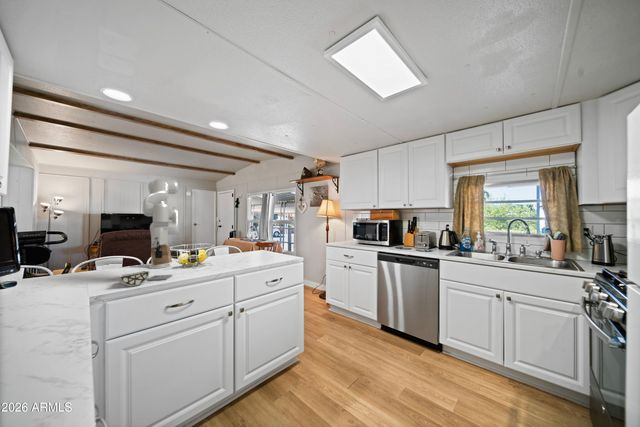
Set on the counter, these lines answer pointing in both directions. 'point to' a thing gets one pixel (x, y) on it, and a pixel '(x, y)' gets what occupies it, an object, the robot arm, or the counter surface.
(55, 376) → the counter surface
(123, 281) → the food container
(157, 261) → the tan cardboard box
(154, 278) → the mat
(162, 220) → the robot arm
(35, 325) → the counter surface
